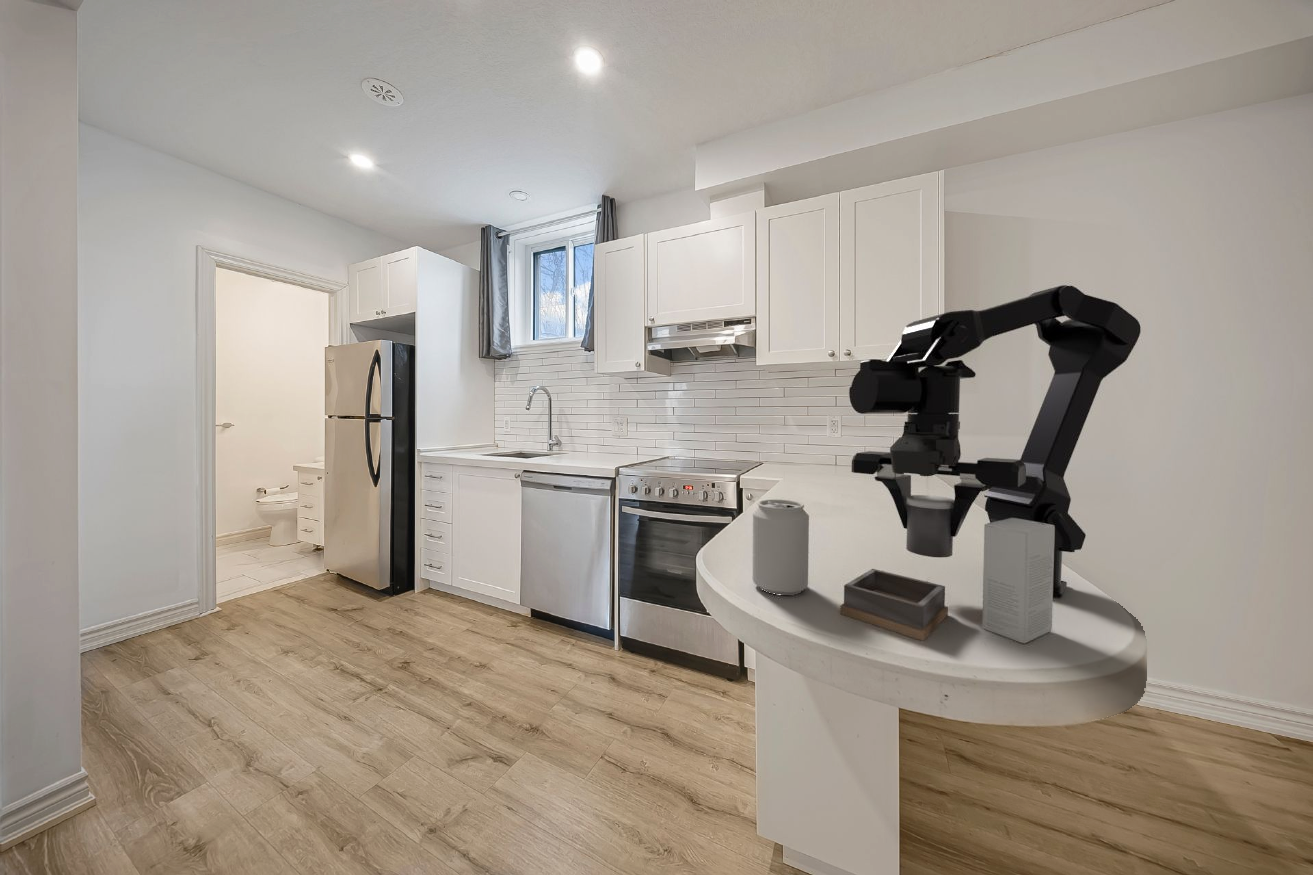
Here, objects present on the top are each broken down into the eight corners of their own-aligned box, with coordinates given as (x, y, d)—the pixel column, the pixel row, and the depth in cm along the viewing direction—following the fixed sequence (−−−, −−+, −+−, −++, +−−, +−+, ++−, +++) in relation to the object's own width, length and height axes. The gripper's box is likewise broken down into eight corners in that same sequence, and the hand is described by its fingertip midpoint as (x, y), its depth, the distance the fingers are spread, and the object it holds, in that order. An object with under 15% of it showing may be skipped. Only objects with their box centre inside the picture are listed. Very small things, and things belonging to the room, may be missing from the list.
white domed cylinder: (913, 542, 63) (914, 493, 63) (958, 551, 59) (960, 498, 59) (899, 550, 59) (900, 498, 59) (946, 560, 55) (948, 504, 55)
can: (811, 600, 58) (813, 508, 57) (752, 596, 59) (753, 506, 59) (804, 579, 65) (805, 498, 65) (752, 576, 67) (752, 496, 66)
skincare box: (1008, 616, 53) (1011, 516, 52) (1052, 632, 49) (1057, 524, 49) (979, 628, 50) (982, 522, 50) (1024, 645, 46) (1028, 531, 46)
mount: (870, 593, 60) (871, 567, 60) (947, 614, 54) (948, 586, 53) (840, 613, 54) (840, 585, 54) (923, 641, 47) (924, 608, 47)
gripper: (834, 414, 60) (832, 529, 60) (1010, 413, 46) (1005, 563, 47) (868, 414, 67) (866, 516, 68) (1029, 413, 53) (1024, 542, 54)
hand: (929, 532), depth 59 cm, fingers closed on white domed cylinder, 5 cm apart
